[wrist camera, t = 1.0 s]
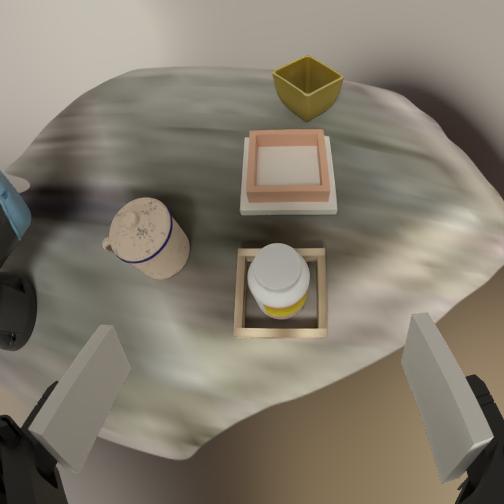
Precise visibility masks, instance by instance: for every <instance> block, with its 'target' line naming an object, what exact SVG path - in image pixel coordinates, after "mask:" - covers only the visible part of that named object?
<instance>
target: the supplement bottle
mask: <svg viewBox="0 0 504 504" xmlns="http://www.w3.org/2000/svg"><path fill="white" fill-rule="evenodd" d="M309 282H310V272H309V268H308V265H307V263H306V261H305V260H304V259H303V257H302V256H301V255H300V254H299V253H297V252H296V251H295V250H294V249H293V248H292V247H290V246H288V245H286V244H282V243H273V244H269V245H267V246H265V247H263V248H262V249H261V250H260V251H259V252H258V253H257V254H256V256H255V258H254V259H253V261H252V263H251V265H250V267H249V270H248V285H249V288H250V290H251V292H252V294H253V296H254V298H255V300H256V302H257V304H258V305H259V307H260V309H261V310H262V311H263V312H264V313H265V314H266V315H268V316H269V317H271V318H274V319H288V318H291V317H293V316H295V315H296V314H298V313H299V312H300V311H301V309H302V308H303V306H304V304H305V301H306V297H307V292H308V287H309Z"/></svg>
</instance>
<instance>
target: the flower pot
mask: <svg viewBox="0 0 504 504" xmlns="http://www.w3.org/2000/svg"><path fill="white" fill-rule="evenodd" d="M272 74H273V78H274V82H275V86H276V90H277V93H278V95H279V97H280V99H281V100H282V102H283V103H284V104H285V105H286V106H287V107H288V108H289V109H290V110H291V111H292V112H294V113H295V114H296V115H298V116H299V117H300V118H302V119H303V120H304V121H306V122H308V121H310V120H312V119H313V118H315V117H316V116H318V115H320V114H322V113H323V112H325V111H326V110H327V109H329V108H330V107H331V106H332V105H333V103H334V102H335V101H336V99H337V97H338V94H339V91H340V88H341V85H342V82H343V79H344V76H342V75H341V74H340V73H338V72H337V71H335V70H334V69H332V68H330V67H329V66H327V65H325V64H324V63H322V62H320V61H318V60H316V59H315V58H313V57H311V56H309V55H307V56H304V57H302V58H300V59H297V60H295V61H293V62H291V63H289V64H287V65H285V66H282V67H280V68H278V69H276V70H274V71H273V72H272Z"/></svg>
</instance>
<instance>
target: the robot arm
mask: <svg viewBox="0 0 504 504" xmlns="http://www.w3.org/2000/svg"><path fill="white" fill-rule="evenodd" d="M30 223H31V213H30V210H29V208H28V207H27V205H26V203H25V202H24V200H23V199H22V197H21V196H20V195H19V193H18V192H17V191H16V189H15V188H14V187H13V185H12V184H11V183H10V182H9V180H8V179H7V178H6V177H5V176H4V174H3V173H2V172H1V171H0V268H1V266H2V265H3V263H4V262H5V261H6V259H7V258H8V256H9V255H10V254H11V252H12V251H13V249H14V248H15V247H16V245H17V244H18V243H19V241H21V239H22V236H23V235H24V233H25V232H26V230H27V229H28V227H29V226H30ZM35 318H36V298H35V293H34V289H33V287H32V285H31V283H30V282H29V280H28V279H27V278H26V277H24V276H22V275H20V274H18V273H15V272H0V348H1V349H3V350H9V351H16V350H18V349H20V348H21V347H23V346H24V345H25V343H26V342H27V341H28V339H29V337H30V335H31V333H32V330H33V327H34V323H35ZM401 364H402V366H403V369H404V371H405V374H406V377H407V379H408V382H409V385H410V387H411V390H412V393H413V395H414V398H415V401H416V404H417V407H418V409H419V412H420V415H421V418H422V421H423V424H424V427H425V430H426V434H427V437H428V440H429V443H430V446H431V450H432V453H433V456H434V459H435V463H436V466H437V470H438V474H439V477H440V481H441V484H442V483H445V482H448V481H451V480H454V479H457V478H459V477H460V476H461V475H462V474H463V473H464V472H465V471H467V474H468V478H467V479H466V480H465V481H464V482H463V483H462V484H461V485H460V486H459V488H458V489H457V490H460V489H461V488H462V487H463V488H462V490H461V492H460V494H459V496H458V498H457V500H456V502H455V504H504V419H503V417H502V415H501V413H500V412H499V409H498V407H497V405H496V403H494V400H493V398H492V396H491V395H490V392H489V390H488V389H487V387H486V385H485V383H484V382H483V381H482V380H481V379H480V378H479V377H477V376H476V375H470V376H467V377H465V376H464V374H463V372H462V371H461V369H460V367H459V365H458V363H457V362H456V360H455V358H454V356H453V355H452V353H451V351H450V349H449V347H448V346H447V344H446V342H445V340H444V339H443V337H442V335H441V334H440V332H439V330H438V329H437V327H436V325H435V324H434V322H433V321H432V319H431V317H430V316H429V314H428V313H420V314H412V316H411V321H410V326H409V331H408V335H407V339H406V344H405V348H404V352H403V356H402V360H401ZM130 370H131V366H130V364H129V362H128V360H127V357H126V355H125V353H124V350H123V348H122V346H121V343H120V341H119V338H118V336H117V333H116V331H115V328H114V326H113V325H100V326H99V327H98V328H97V330H96V331H95V332H94V334H93V335H92V336H91V338H90V339H89V340H88V342H87V343H86V344H85V346H84V347H83V349H82V350H81V351H80V353H79V354H78V355H77V357H76V358H75V360H74V361H73V362H72V364H71V365H70V367H69V368H68V370H67V371H66V372H65V374H64V375H63V377H62V378H61V380H60V381H56V382H54V383H53V384H52V385H51V386H49V387H48V388H47V390H46V391H45V393H44V394H43V395H42V398H40V400H39V401H38V405H36V406H35V407H34V409H33V410H32V412H31V413H30V415H29V417H28V418H27V420H26V421H25V423H24V424H23V426H22V427H21V428H19V426H18V425H17V424H16V423H15V422H14V420H13V419H12V418H11V417H10V416H8V415H1V416H0V504H68V502H67V498H66V495H65V492H64V489H63V485H62V481H61V478H60V474H59V471H58V469H57V467H56V464H57V462H59V463H60V464H61V465H62V466H63V467H64V468H65V469H67V470H69V471H72V472H74V473H77V474H79V473H80V471H81V469H82V467H83V465H84V463H85V460H86V458H87V456H88V454H89V452H90V450H91V448H92V446H93V444H94V441H95V439H96V437H97V435H98V433H99V431H100V429H101V427H102V425H103V423H104V421H105V419H106V417H107V415H108V413H109V411H110V409H111V407H112V405H113V403H114V401H115V399H116V397H117V395H118V393H119V391H120V389H121V387H122V385H123V384H124V382H125V380H126V378H127V376H128V374H129V372H130Z"/></svg>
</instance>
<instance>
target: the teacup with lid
mask: <svg viewBox="0 0 504 504" xmlns="http://www.w3.org/2000/svg"><path fill="white" fill-rule="evenodd" d="M102 247H103V249H104V250H106V251H108V252H110V253H113V254H115V255H116V256H117V257H118V258H119V259H121V260H122V261H124V262H127V263H130V264H131V265H133V266H134V267H135V268H137V269H138V270H140V271H141V272H143V273H144V274H145V275H147V276H149V277H151V278H154V279H166V278H169V277H172V276H174V275H175V274H177V273H178V272H179V271H180V270H181V269H182V268H183V267H184V265H185V264H186V262H187V260H188V257H189V252H190V245H189V240H188V238H187V236H186V234H185V233H184V232H183V230H182V229H181V228H180V226H179V225H178V224H177V222H176V221H175V220H174V218H173V217H172V215H171V212H170V210H169V209H168V207H167V206H166V205H165V204H164V203H163V202H161V201H159V200H157V199H154V198H139V199H135V200H133V201H131V202H129V203H127V204H126V205H125V206H123V207H122V208H121V209H120V210H119V212H118V213H117V214H116V216H115V217H114V219H113V221H112V224H111V227H110V232H109V237H106V238H105V239H104V240H103V242H102Z"/></svg>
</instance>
